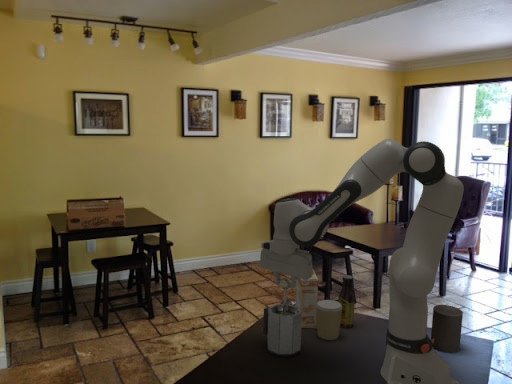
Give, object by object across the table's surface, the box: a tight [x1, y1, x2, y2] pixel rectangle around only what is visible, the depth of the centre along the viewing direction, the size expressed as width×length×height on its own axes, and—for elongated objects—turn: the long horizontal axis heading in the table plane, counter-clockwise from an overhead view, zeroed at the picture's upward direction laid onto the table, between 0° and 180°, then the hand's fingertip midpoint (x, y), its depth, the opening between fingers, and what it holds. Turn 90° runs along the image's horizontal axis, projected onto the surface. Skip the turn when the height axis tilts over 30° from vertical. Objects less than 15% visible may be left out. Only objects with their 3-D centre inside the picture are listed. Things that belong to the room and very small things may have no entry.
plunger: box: [276, 277, 294, 315], centre depth 153 cm, size 8×8×14 cm
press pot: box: [262, 303, 302, 358], centre depth 155 cm, size 14×11×14 cm
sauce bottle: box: [337, 274, 356, 329], centre depth 174 cm, size 7×6×20 cm
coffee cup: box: [316, 299, 342, 341], centre depth 165 cm, size 9×9×12 cm
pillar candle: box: [430, 304, 464, 354], centre depth 157 cm, size 10×10×15 cm
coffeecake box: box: [294, 269, 319, 329], centre depth 178 cm, size 15×7×20 cm, turn 1°
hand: (285, 286), depth 152 cm, fingers closed on plunger, 4 cm apart
